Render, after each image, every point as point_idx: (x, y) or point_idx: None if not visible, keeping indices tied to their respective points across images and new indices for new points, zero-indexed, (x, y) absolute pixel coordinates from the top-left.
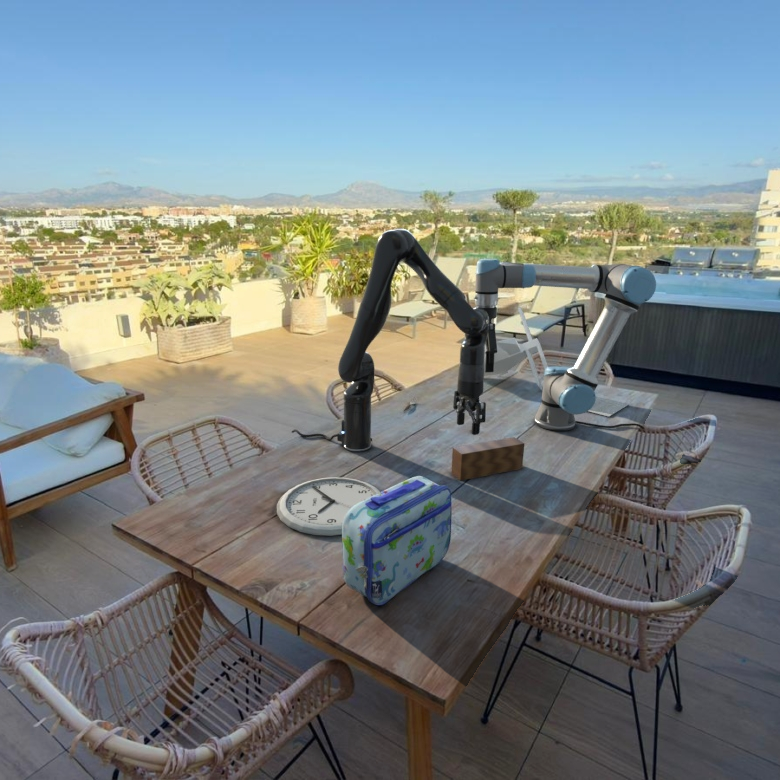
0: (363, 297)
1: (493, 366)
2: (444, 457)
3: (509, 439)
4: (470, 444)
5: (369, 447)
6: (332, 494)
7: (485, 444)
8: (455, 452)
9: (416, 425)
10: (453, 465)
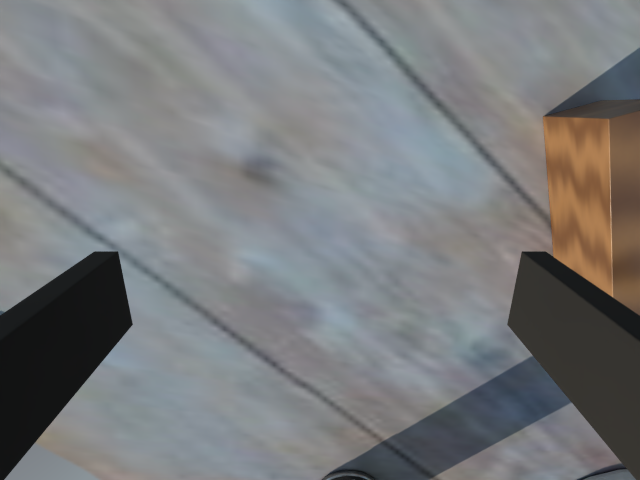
0: None
1: (585, 281)
2: (456, 313)
3: (624, 149)
4: None
5: (368, 477)
6: None
7: (634, 260)
8: None
9: (197, 342)
10: None
